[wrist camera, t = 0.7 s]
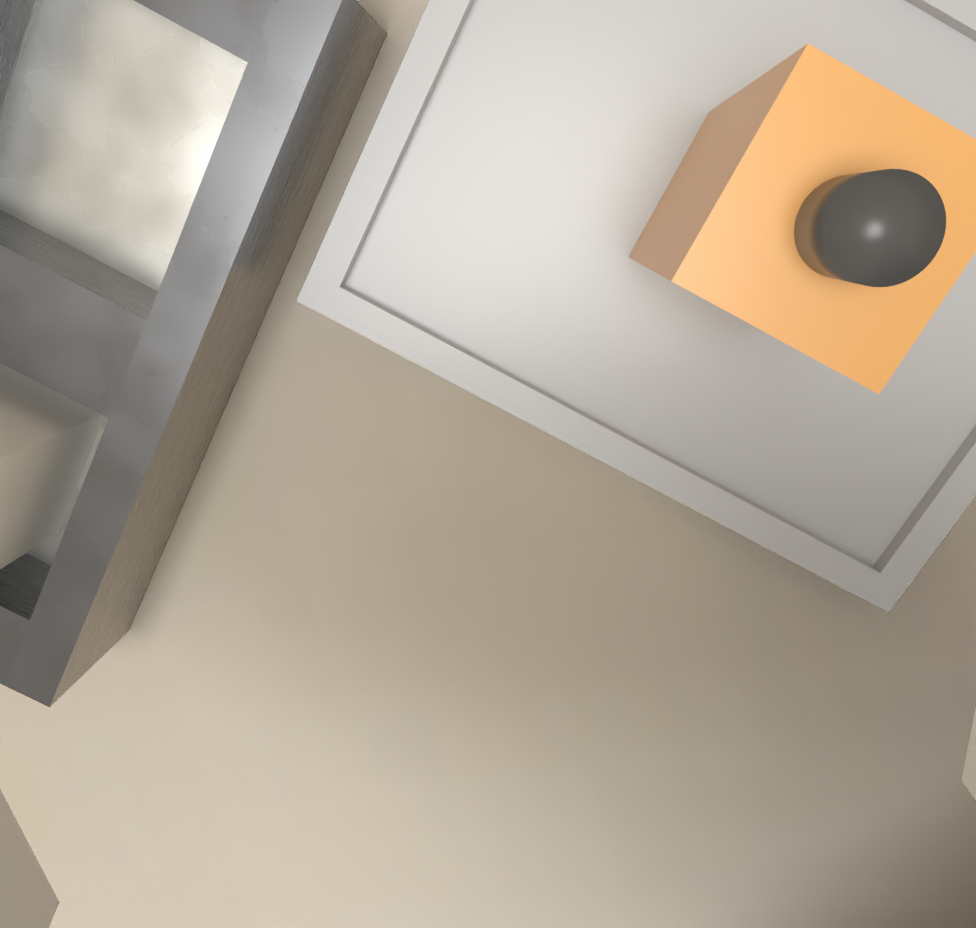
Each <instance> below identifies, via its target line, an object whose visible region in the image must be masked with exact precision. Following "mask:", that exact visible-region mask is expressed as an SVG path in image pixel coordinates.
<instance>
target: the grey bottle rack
mask: <svg viewBox="0 0 976 928" xmlns="http://www.w3.org/2000/svg"><path fill="white" fill-rule="evenodd" d="M386 34H387V33H386V32H385V31H384V30H383V29H382V28H381V27H380V26H379V25H378V23H377V22H376V21H375V20H374V19H373V18H372V17H371V16H370V15H369V14H368V13H367V12H366V11H365V9H364V8H363V7H362V6H361V5H360V4H359V3H358V2H357V1H356V0H0V363H2V364H4V365H6V366H8V367H9V368H11V369H13V370H15V371H17V372H19V373H21V374H23V375H25V376H27V377H29V378H31V379H33V380H35V381H37V382H39V383H41V384H43V385H45V386H47V387H49V388H51V389H53V390H55V391H57V392H59V393H61V394H62V395H64V396H66V397H68V398H70V399H72V400H74V401H76V402H78V403H80V404H82V405H84V406H86V407H88V408H90V409H92V410H94V411H96V412H98V413H100V414H102V415H104V418H103V420H102V423H101V426H100V428H99V431H98V433H97V436H96V438H95V441H94V444H93V446H92V449H91V451H90V454H89V456H88V459H87V462H86V464H85V467H84V469H83V472H82V474H81V477H80V480H79V482H78V485H77V487H76V490H75V492H74V495H73V498H72V500H71V503H70V505H69V508H68V510H67V513H66V516H65V518H64V521H63V523H62V526H61V529H60V531H59V533H57V534H55V535H54V536H52V537H51V538H49V539H48V540H46V541H44V542H43V543H41V544H40V545H38V546H36V547H35V548H33V549H32V550H30V551H29V552H27V553H25V554H24V555H22V556H21V557H19V558H18V559H16V560H14V561H13V562H11V563H10V564H8V565H6V566H5V567H3V568H2V569H0V683H1V684H3V685H5V686H7V687H9V688H11V689H13V690H15V691H17V692H19V693H21V694H23V695H25V696H27V697H30V698H32V699H34V700H36V701H38V702H40V703H42V704H44V705H46V706H48V707H50V706H51V705H52V704H53V703H54V702H55V701H56V700H57V699H58V698H60V697H61V696H62V695H63V694H64V693H65V692H66V691H67V690H68V689H69V688H70V687H71V686H72V685H73V684H74V683H75V682H76V681H77V680H78V679H79V678H80V677H81V676H82V675H83V674H84V673H85V672H86V671H87V670H89V669H90V668H91V667H92V666H93V665H94V664H95V663H96V662H97V661H98V660H99V659H100V658H101V657H102V656H103V655H104V654H105V653H106V652H107V651H108V650H109V649H110V648H111V647H112V646H113V645H114V644H115V643H116V642H118V641H119V640H120V639H121V638H122V637H123V636H124V635H125V634H126V633H127V632H128V630H129V628H130V626H131V623H132V621H133V619H134V616H135V614H136V612H137V609H138V607H139V605H140V602H141V600H142V598H143V596H144V593H145V591H146V589H147V586H148V584H149V582H150V579H151V577H152V575H153V572H154V570H155V568H156V565H157V563H158V561H159V559H160V556H161V554H162V552H163V549H164V547H165V545H166V542H167V540H168V538H169V535H170V533H171V531H172V529H173V526H174V524H175V522H176V519H177V517H178V515H179V512H180V510H181V508H182V505H183V503H184V501H185V499H186V496H187V494H188V492H189V489H190V487H191V485H192V482H193V480H194V478H195V475H196V473H197V471H198V468H199V466H200V464H201V462H202V459H203V457H204V455H205V452H206V450H207V448H208V445H209V443H210V441H211V438H212V436H213V434H214V432H215V429H216V427H217V425H218V422H219V420H220V418H221V415H222V413H223V411H224V408H225V406H226V404H227V402H228V399H229V397H230V395H231V392H232V390H233V388H234V385H235V383H236V381H237V378H238V376H239V374H240V372H241V369H242V367H243V365H244V362H245V360H246V358H247V355H248V353H249V351H250V348H251V346H252V344H253V341H254V339H255V337H256V335H257V332H258V330H259V328H260V325H261V323H262V321H263V318H264V316H265V314H266V311H267V309H268V307H269V305H270V302H271V300H272V298H273V295H274V293H275V291H276V288H277V286H278V284H279V281H280V279H281V277H282V275H283V272H284V270H285V268H286V265H287V263H288V261H289V258H290V256H291V254H292V251H293V249H294V247H295V244H296V242H297V240H298V238H299V235H300V233H301V231H302V228H303V226H304V224H305V221H306V219H307V217H308V214H309V212H310V210H311V208H312V205H313V203H314V201H315V198H316V196H317V194H318V191H319V189H320V187H321V184H322V182H323V180H324V178H325V175H326V173H327V171H328V168H329V166H330V164H331V161H332V159H333V157H334V154H335V152H336V150H337V147H338V145H339V143H340V141H341V138H342V136H343V134H344V131H345V129H346V127H347V124H348V122H349V120H350V117H351V115H352V113H353V111H354V108H355V106H356V104H357V101H358V99H359V97H360V94H361V92H362V90H363V87H364V85H365V83H366V81H367V78H368V76H369V74H370V71H371V69H372V67H373V64H374V62H375V60H376V57H377V55H378V53H379V51H380V48H381V46H382V44H383V41H384V39H385V37H386Z"/></svg>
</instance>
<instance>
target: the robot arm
mask: <svg viewBox="0 0 976 928" xmlns="http://www.w3.org/2000/svg"><path fill="white" fill-rule="evenodd" d="M961 781H962V782H963V784H964V785H965V786H966V788H967V789H968V791H969V792H970V793H971V795H972V796H973V798H974V799H975V800H976V707H975V712H974V717H973V722H972V728H971V733H970V738H969V743H968V749H967V754H966V759H965V764H964V770H963V775H962V780H961ZM58 904H59V901H58V899H57V897H56V895H55V893H54V891H53V889H52V887H51V885H50V884H49V882H48V880H47V878H46V876H45V874H44V872H43V870H42V868H41V866H40V864H39V863H38V861H37V859H36V857H35V855H34V853H33V851H32V849H31V847H30V845H29V843H28V841H27V840H26V838H25V836H24V834H23V832H22V830H21V828H20V826H19V824H18V822H17V820H16V819H15V817H14V815H13V813H12V811H11V809H10V807H9V805H8V803H7V801H6V799H5V797H4V796H3V794H2V792H1V790H0V928H49V925H50V923H51V921H52V918H53V916H54V913H55V911H56V909H57V906H58Z"/></svg>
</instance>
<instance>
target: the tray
mask: <svg viewBox="0 0 976 928" xmlns="http://www.w3.org/2000/svg"><path fill="white" fill-rule="evenodd" d="M808 43H809V44H810V45H812V46H814V47H816V48H817V49H819V50H821V51H823V52H824V53H826V54H828V55H830V56H831V57H833V58H835V59H837V60H838V61H840V62H842V63H844V64H845V65H847V66H849V67H851V68H852V69H854V70H856V71H858V72H859V73H861V74H863V75H865V76H866V77H868V78H870V79H872V80H873V81H875V82H877V83H879V84H880V85H882V86H884V87H886V88H887V89H889V90H891V91H893V92H894V93H896V94H898V95H900V96H901V97H903V98H905V99H907V100H908V101H910V102H912V103H914V104H915V105H917V106H919V107H921V108H922V109H924V110H926V111H928V112H929V113H931V114H933V115H935V116H936V117H938V118H940V119H942V120H943V121H945V122H947V123H949V124H950V125H952V126H954V127H956V128H957V129H959V130H961V131H963V132H964V133H966V134H968V135H970V136H971V137H973V138H975V139H976V0H429V2H428V5H427V7H426V9H425V11H424V14H423V16H422V18H421V20H420V23H419V25H418V27H417V29H416V32H415V34H414V36H413V39H412V41H411V43H410V45H409V48H408V50H407V52H406V54H405V57H404V59H403V61H402V63H401V66H400V68H399V70H398V72H397V75H396V77H395V79H394V81H393V84H392V86H391V88H390V91H389V93H388V95H387V97H386V100H385V102H384V104H383V106H382V109H381V111H380V113H379V115H378V118H377V120H376V122H375V124H374V127H373V129H372V131H371V133H370V136H369V138H368V140H367V143H366V145H365V147H364V149H363V152H362V154H361V156H360V158H359V161H358V163H357V165H356V167H355V170H354V172H353V174H352V176H351V179H350V181H349V183H348V185H347V188H346V190H345V192H344V195H343V197H342V199H341V201H340V204H339V206H338V208H337V210H336V213H335V215H334V217H333V219H332V222H331V224H330V226H329V228H328V231H327V233H326V235H325V237H324V240H323V242H322V244H321V247H320V249H319V251H318V253H317V256H316V258H315V260H314V262H313V265H312V267H311V269H310V271H309V274H308V276H307V278H306V280H305V283H304V285H303V287H302V289H301V292H300V294H299V296H298V299H297V302H299V303H301V304H303V305H305V306H307V307H309V308H311V309H313V310H314V311H316V312H318V313H320V314H322V315H324V316H326V317H328V318H330V319H332V320H333V321H335V322H337V323H339V324H341V325H343V326H345V327H347V328H349V329H351V330H352V331H354V332H356V333H358V334H360V335H362V336H364V337H366V338H368V339H370V340H371V341H373V342H375V343H377V344H379V345H381V346H383V347H385V348H387V349H389V350H390V351H392V352H394V353H396V354H398V355H400V356H402V357H404V358H406V359H408V360H409V361H411V362H413V363H415V364H417V365H419V366H421V367H423V368H425V369H426V370H428V371H430V372H432V373H434V374H436V375H438V376H440V377H442V378H444V379H445V380H447V381H449V382H451V383H453V384H455V385H457V386H459V387H461V388H463V389H464V390H466V391H468V392H470V393H472V394H474V395H476V396H478V397H480V398H482V399H483V400H485V401H487V402H489V403H491V404H493V405H495V406H497V407H499V408H501V409H502V410H504V411H506V412H508V413H510V414H512V415H514V416H516V417H518V418H520V419H521V420H523V421H525V422H527V423H529V424H531V425H533V426H535V427H537V428H539V429H540V430H542V431H544V432H546V433H548V434H550V435H552V436H554V437H556V438H558V439H559V440H561V441H563V442H565V443H567V444H569V445H571V446H573V447H575V448H577V449H578V450H580V451H582V452H584V453H586V454H588V455H590V456H592V457H594V458H596V459H597V460H599V461H601V462H603V463H605V464H607V465H609V466H611V467H613V468H615V469H616V470H618V471H620V472H622V473H624V474H626V475H628V476H630V477H632V478H634V479H635V480H637V481H639V482H641V483H643V484H645V485H647V486H649V487H651V488H652V489H654V490H656V491H658V492H660V493H662V494H664V495H666V496H668V497H670V498H671V499H673V500H675V501H677V502H679V503H681V504H683V505H685V506H687V507H689V508H690V509H692V510H694V511H696V512H698V513H700V514H702V515H704V516H706V517H708V518H709V519H711V520H713V521H715V522H717V523H719V524H721V525H723V526H725V527H727V528H728V529H730V530H732V531H734V532H736V533H738V534H740V535H742V536H744V537H746V538H747V539H749V540H751V541H753V542H755V543H757V544H759V545H761V546H763V547H765V548H766V549H768V550H770V551H772V552H774V553H776V554H778V555H780V556H782V557H784V558H785V559H787V560H789V561H791V562H793V563H795V564H797V565H799V566H801V567H803V568H804V569H806V570H808V571H810V572H812V573H814V574H816V575H818V576H820V577H822V578H823V579H825V580H827V581H829V582H831V583H833V584H835V585H837V586H839V587H841V588H842V589H844V590H846V591H848V592H850V593H852V594H854V595H856V596H858V597H860V598H861V599H863V600H865V601H867V602H869V603H871V604H873V605H875V606H877V607H878V608H880V609H882V610H884V611H886V612H888V613H889V612H890V611H891V609H892V608H893V607H894V605H895V604H896V603H897V601H898V600H899V598H900V597H901V596H902V594H903V593H904V592H905V590H906V589H907V588H908V586H909V585H910V584H911V582H912V581H913V580H914V578H915V577H916V576H917V574H918V573H919V572H920V570H921V569H922V568H923V566H924V565H925V564H926V562H927V561H928V559H929V558H930V557H931V555H932V554H933V553H934V551H935V550H936V549H937V547H938V546H939V545H940V543H941V542H942V541H943V539H944V538H945V537H946V535H947V534H948V533H949V531H950V530H951V529H952V527H953V526H954V524H955V523H956V522H957V520H958V519H959V518H960V516H961V515H962V514H963V512H964V511H965V510H966V508H967V507H968V506H969V504H970V503H971V502H972V500H973V499H974V498H975V496H976V252H975V254H974V255H973V257H972V258H971V260H970V261H969V263H968V264H967V266H966V267H965V269H964V270H963V272H962V273H961V274H960V276H959V277H958V279H957V280H956V282H955V283H954V285H953V286H952V288H951V289H950V291H949V292H948V294H947V295H946V297H945V298H944V300H943V301H942V303H941V304H940V305H939V307H938V308H937V310H936V311H935V313H934V314H933V316H932V317H931V319H930V320H929V322H928V323H927V325H926V326H925V328H924V329H923V331H922V332H921V333H920V335H919V336H918V338H917V339H916V341H915V342H914V344H913V345H912V347H911V348H910V350H909V351H908V353H907V354H906V356H905V357H904V359H903V360H902V361H901V363H900V364H899V366H898V367H897V369H896V370H895V372H894V373H893V375H892V376H891V378H890V379H889V381H888V382H887V384H886V385H885V387H884V388H883V390H882V391H881V392H880V394H877V393H876V392H874V391H872V390H870V389H868V388H866V387H865V386H863V385H861V384H859V383H857V382H855V381H854V380H852V379H850V378H848V377H846V376H844V375H843V374H841V373H839V372H837V371H835V370H833V369H832V368H830V367H828V366H826V365H824V364H822V363H821V362H819V361H817V360H815V359H813V358H811V357H810V356H808V355H806V354H804V353H802V352H800V351H799V350H797V349H795V348H793V347H791V346H789V345H787V344H786V343H784V342H782V341H780V340H778V339H776V338H775V337H773V336H771V335H769V334H767V333H765V332H764V331H762V330H760V329H758V328H756V327H754V326H753V325H751V324H749V323H747V322H745V321H743V320H742V319H740V318H738V317H736V316H734V315H732V314H731V313H729V312H727V311H725V310H723V309H721V308H720V307H718V306H716V305H714V304H712V303H710V302H709V301H707V300H705V299H703V298H701V297H699V296H698V295H696V294H694V293H692V292H690V291H688V290H686V289H685V288H683V287H681V286H679V285H677V284H675V283H674V282H672V281H670V280H668V279H666V278H665V277H663V276H661V275H659V274H658V273H656V272H654V271H652V270H650V269H649V268H647V267H645V266H643V265H642V264H640V263H638V262H636V261H634V260H633V259H631V258H629V255H630V253H631V251H632V250H633V248H634V246H635V244H636V242H637V241H638V239H639V237H640V235H641V233H642V232H643V230H644V228H645V226H646V224H647V223H648V221H649V219H650V217H651V215H652V213H653V212H654V210H655V208H656V206H657V204H658V203H659V201H660V199H661V197H662V195H663V194H664V192H665V190H666V188H667V186H668V185H669V183H670V181H671V179H672V177H673V176H674V174H675V172H676V170H677V168H678V167H679V165H680V163H681V161H682V159H683V158H684V156H685V154H686V152H687V150H688V149H689V147H690V145H691V143H692V141H693V140H694V138H695V136H696V134H697V132H698V131H699V129H700V127H701V125H702V123H703V122H704V120H705V118H706V116H707V114H708V113H709V112H710V111H711V110H712V109H714V108H715V107H717V106H718V105H720V104H721V103H723V102H724V101H725V100H727V99H728V98H730V97H731V96H733V95H734V94H736V93H737V92H738V91H740V90H741V89H743V88H744V87H746V86H747V85H749V84H750V83H751V82H753V81H754V80H756V79H757V78H759V77H760V76H762V75H763V74H764V73H766V72H767V71H769V70H770V69H772V68H773V67H775V66H776V65H777V64H779V63H780V62H782V61H783V60H785V59H786V58H788V57H789V56H790V55H792V54H793V53H795V52H796V51H798V50H799V49H801V48H802V47H803V46H805V45H806V44H808Z"/></svg>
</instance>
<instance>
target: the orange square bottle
mask: <svg viewBox="0 0 976 928" xmlns="http://www.w3.org/2000/svg"><path fill="white" fill-rule="evenodd" d="M975 252H976V139H975V138H973V137H971V136H970V135H968V134H966V133H964V132H963V131H961V130H959V129H957V128H956V127H954V126H952V125H950V124H949V123H947V122H945V121H943V120H942V119H940V118H938V117H936V116H935V115H933V114H931V113H929V112H928V111H926V110H924V109H922V108H921V107H919V106H917V105H915V104H914V103H912V102H910V101H908V100H907V99H905V98H903V97H901V96H900V95H898V94H896V93H894V92H893V91H891V90H889V89H887V88H886V87H884V86H882V85H880V84H879V83H877V82H875V81H873V80H872V79H870V78H868V77H866V76H865V75H863V74H861V73H859V72H858V71H856V70H854V69H852V68H851V67H849V66H847V65H845V64H844V63H842V62H840V61H838V60H837V59H835V58H833V57H831V56H830V55H828V54H826V53H824V52H823V51H821V50H819V49H817V48H816V47H814V46H812V45H810V44H809V43H808V44H806V45H805V46H803V47H802V48H801V49H799V50H798V51H796V52H795V53H793V54H792V55H790V56H789V57H788V58H786V59H785V60H783V61H782V62H780V63H779V64H777V65H776V66H775V67H773V68H772V69H770V70H769V71H767V72H766V73H764V74H763V75H762V76H760V77H759V78H757V79H756V80H754V81H753V82H751V83H750V84H749V85H747V86H746V87H744V88H743V89H741V90H740V91H738V92H737V93H736V94H734V95H733V96H731V97H730V98H728V99H727V100H725V101H724V102H723V103H721V104H720V105H718V106H717V107H715V108H714V109H712V110H711V111H710V112H709V113H708V114H707V116H706V118H705V120H704V122H703V123H702V125H701V127H700V129H699V131H698V132H697V134H696V136H695V138H694V140H693V141H692V143H691V145H690V147H689V149H688V150H687V152H686V154H685V156H684V158H683V159H682V161H681V163H680V165H679V167H678V168H677V170H676V172H675V174H674V176H673V177H672V179H671V181H670V183H669V185H668V186H667V188H666V190H665V192H664V194H663V195H662V197H661V199H660V201H659V203H658V204H657V206H656V208H655V210H654V212H653V213H652V215H651V217H650V219H649V221H648V223H647V224H646V226H645V228H644V230H643V232H642V233H641V235H640V237H639V239H638V241H637V242H636V244H635V246H634V248H633V250H632V251H631V253H630V255H629V258H631V259H633V260H634V261H636V262H638V263H640V264H642V265H643V266H645V267H647V268H649V269H650V270H652V271H654V272H656V273H658V274H659V275H661V276H663V277H665V278H666V279H668V280H670V281H672V282H674V283H675V284H677V285H679V286H681V287H683V288H685V289H686V290H688V291H690V292H692V293H694V294H696V295H698V296H699V297H701V298H703V299H705V300H707V301H709V302H710V303H712V304H714V305H716V306H718V307H720V308H721V309H723V310H725V311H727V312H729V313H731V314H732V315H734V316H736V317H738V318H740V319H742V320H743V321H745V322H747V323H749V324H751V325H753V326H754V327H756V328H758V329H760V330H762V331H764V332H765V333H767V334H769V335H771V336H773V337H775V338H776V339H778V340H780V341H782V342H784V343H786V344H787V345H789V346H791V347H793V348H795V349H797V350H799V351H800V352H802V353H804V354H806V355H808V356H810V357H811V358H813V359H815V360H817V361H819V362H821V363H822V364H824V365H826V366H828V367H830V368H832V369H833V370H835V371H837V372H839V373H841V374H843V375H844V376H846V377H848V378H850V379H852V380H854V381H855V382H857V383H859V384H861V385H863V386H865V387H866V388H868V389H870V390H872V391H874V392H876V393H877V394H880V392H881V391H882V390H883V388H884V387H885V385H886V384H887V382H888V381H889V379H890V378H891V376H892V375H893V373H894V372H895V370H896V369H897V367H898V366H899V364H900V363H901V361H902V360H903V359H904V357H905V356H906V354H907V353H908V351H909V350H910V348H911V347H912V345H913V344H914V342H915V341H916V339H917V338H918V336H919V335H920V333H921V332H922V331H923V329H924V328H925V326H926V325H927V323H928V322H929V320H930V319H931V317H932V316H933V314H934V313H935V311H936V310H937V308H938V307H939V305H940V304H941V303H942V301H943V300H944V298H945V297H946V295H947V294H948V292H949V291H950V289H951V288H952V286H953V285H954V283H955V282H956V280H957V279H958V277H959V276H960V274H961V273H962V272H963V270H964V269H965V267H966V266H967V264H968V263H969V261H970V260H971V258H972V257H973V255H974V254H975Z"/></svg>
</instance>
